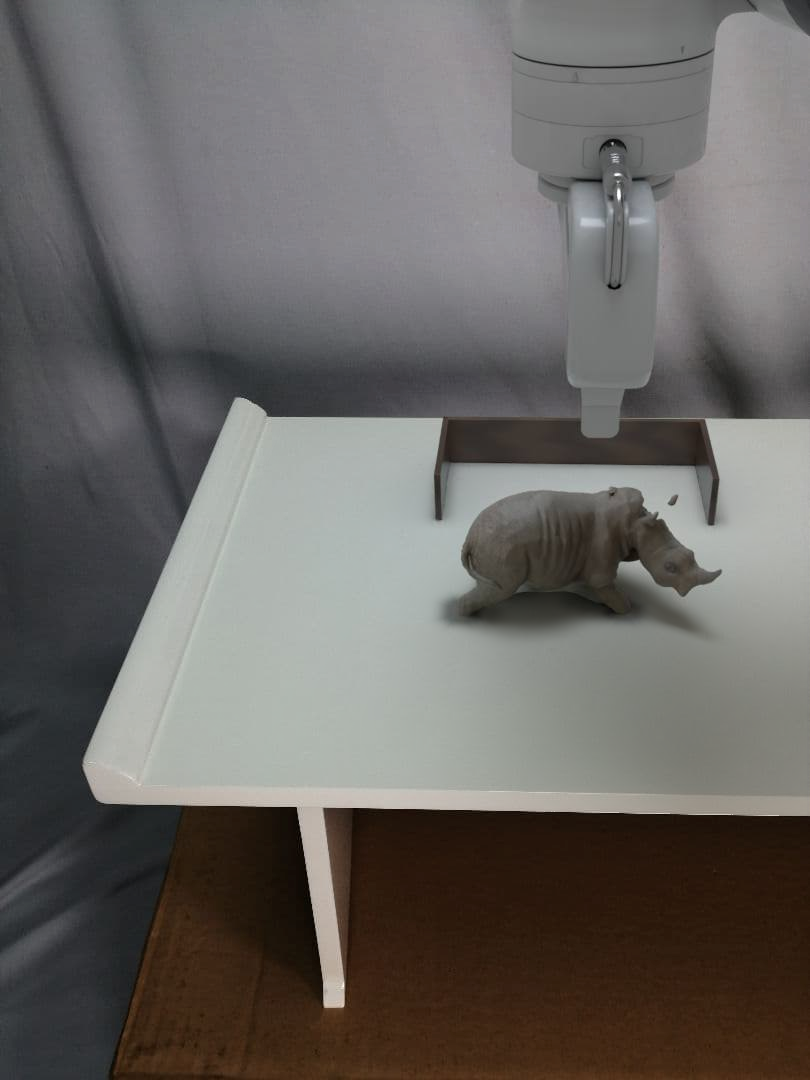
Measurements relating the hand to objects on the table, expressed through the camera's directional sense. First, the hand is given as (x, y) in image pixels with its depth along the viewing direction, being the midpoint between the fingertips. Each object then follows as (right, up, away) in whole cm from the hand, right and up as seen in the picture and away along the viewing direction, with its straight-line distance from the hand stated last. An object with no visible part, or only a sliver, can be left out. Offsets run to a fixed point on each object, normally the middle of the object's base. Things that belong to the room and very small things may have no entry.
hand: (595, 391), depth 61 cm
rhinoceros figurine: (+2, -13, +19) cm, 23 cm away
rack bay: (+3, -4, +32) cm, 33 cm away
